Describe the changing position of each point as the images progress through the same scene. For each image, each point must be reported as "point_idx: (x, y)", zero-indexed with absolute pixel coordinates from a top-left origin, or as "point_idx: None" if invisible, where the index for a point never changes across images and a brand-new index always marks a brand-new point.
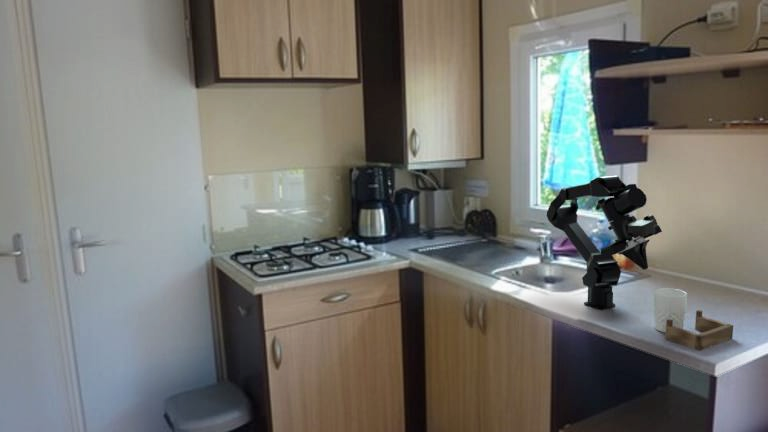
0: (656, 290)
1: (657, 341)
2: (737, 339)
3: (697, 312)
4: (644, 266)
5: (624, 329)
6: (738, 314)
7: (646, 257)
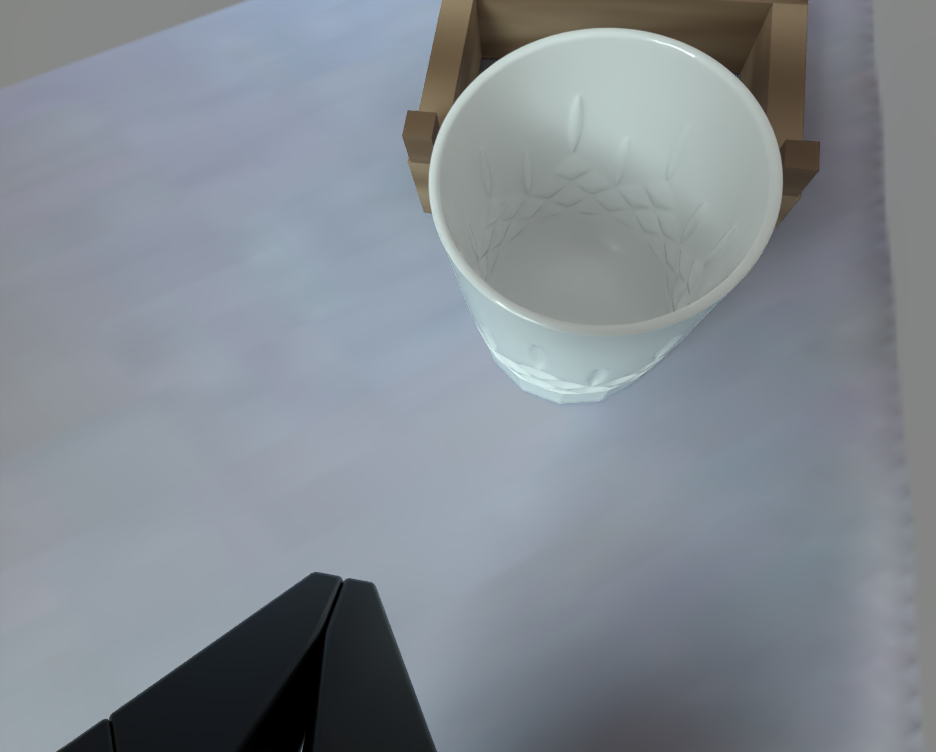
0: (604, 326)
1: (839, 258)
2: None
3: (434, 138)
4: (384, 618)
5: (826, 522)
6: (29, 174)
7: (168, 680)
